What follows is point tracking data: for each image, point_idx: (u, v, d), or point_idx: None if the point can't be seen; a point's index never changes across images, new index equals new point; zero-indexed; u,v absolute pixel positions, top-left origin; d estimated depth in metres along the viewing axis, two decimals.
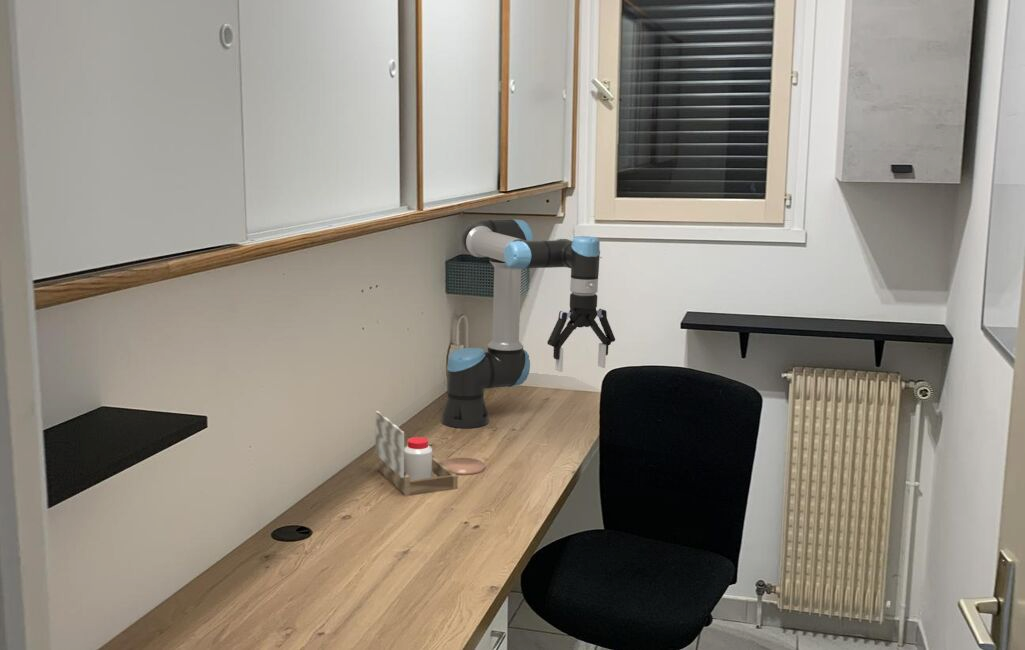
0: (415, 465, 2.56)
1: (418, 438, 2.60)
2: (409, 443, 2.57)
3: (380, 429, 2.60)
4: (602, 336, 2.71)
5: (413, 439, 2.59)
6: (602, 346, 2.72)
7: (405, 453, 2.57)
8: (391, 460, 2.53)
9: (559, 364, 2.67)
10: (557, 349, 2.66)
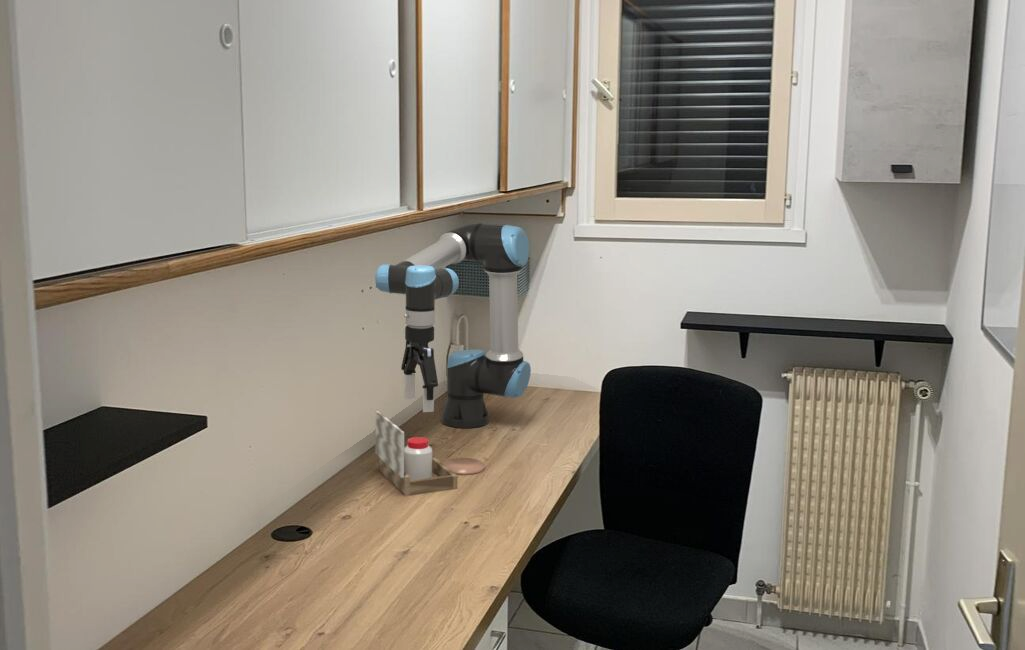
0: (415, 465, 2.56)
1: (418, 438, 2.60)
2: (409, 443, 2.57)
3: (380, 429, 2.60)
4: (423, 377, 2.49)
5: (413, 439, 2.59)
6: None
7: (405, 453, 2.57)
8: (391, 460, 2.53)
9: None
10: (405, 375, 2.62)
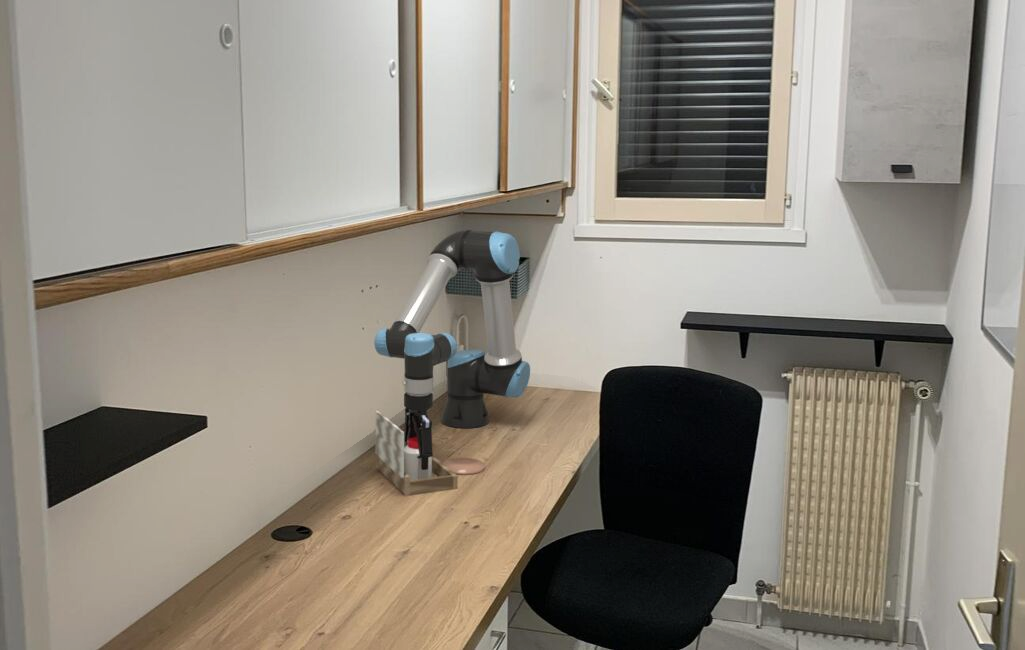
0: (415, 465, 2.56)
1: None
2: (409, 443, 2.57)
3: (380, 429, 2.60)
4: None
5: (413, 439, 2.59)
6: None
7: (405, 453, 2.57)
8: (391, 460, 2.53)
9: None
10: None
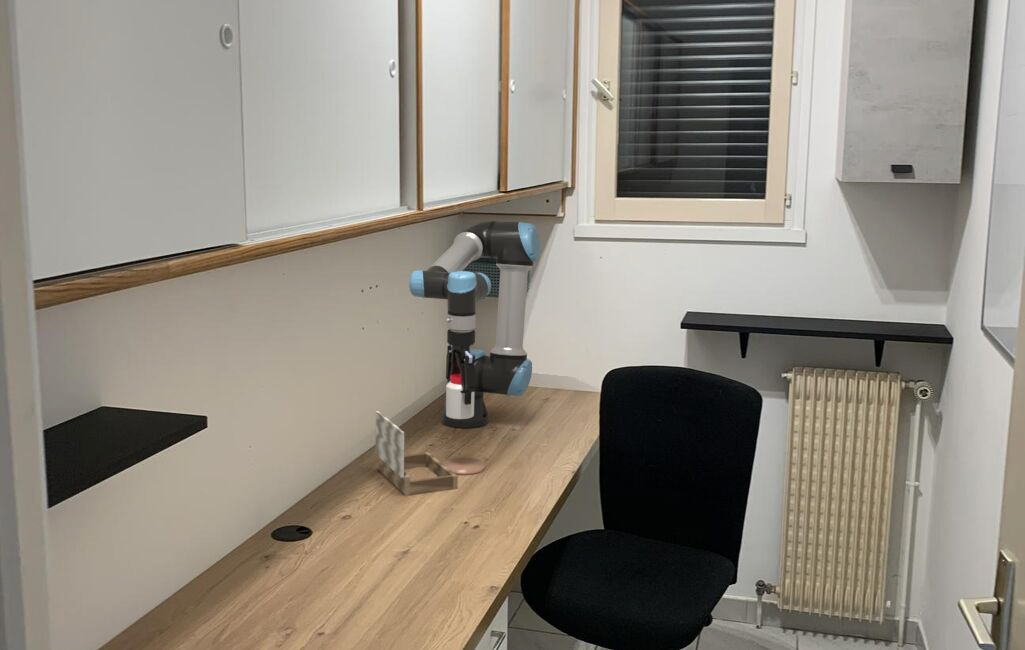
0: (458, 400, 2.62)
1: (460, 374, 2.66)
2: (452, 379, 2.63)
3: (380, 429, 2.60)
4: (462, 381, 2.61)
5: (455, 375, 2.65)
6: None
7: (448, 388, 2.63)
8: (391, 460, 2.53)
9: None
10: None
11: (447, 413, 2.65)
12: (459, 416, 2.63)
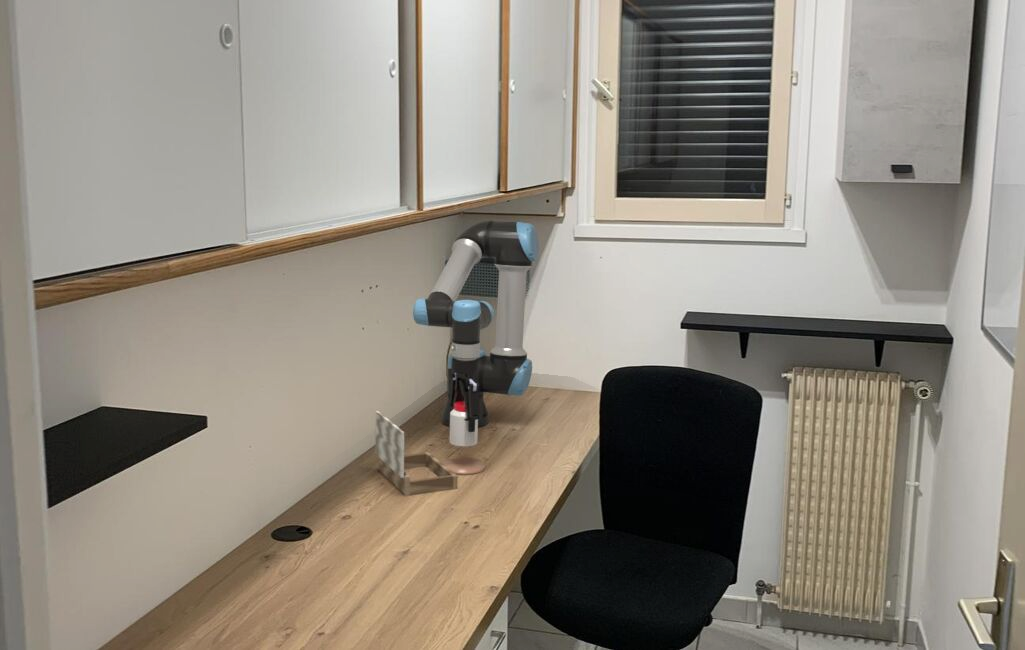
0: (462, 427, 2.64)
1: (464, 402, 2.68)
2: (456, 406, 2.66)
3: (380, 429, 2.60)
4: (466, 409, 2.63)
5: (459, 403, 2.68)
6: None
7: (452, 416, 2.65)
8: (391, 460, 2.53)
9: None
10: None
11: (451, 440, 2.67)
12: (463, 443, 2.65)
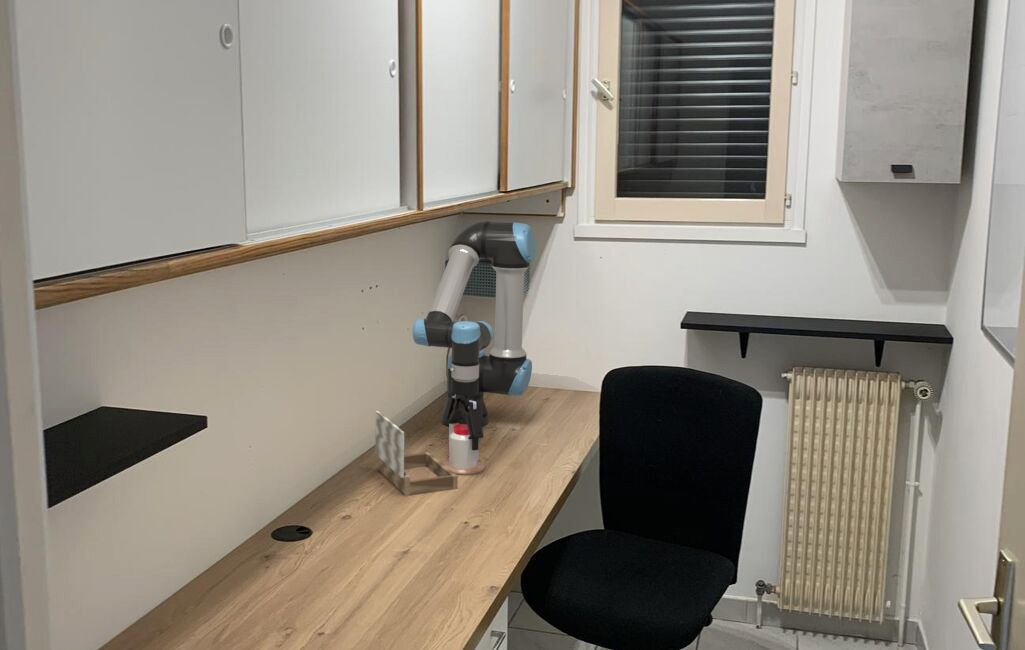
0: (461, 451, 2.66)
1: (463, 425, 2.70)
2: (455, 429, 2.67)
3: (380, 429, 2.60)
4: (468, 428, 2.63)
5: (459, 426, 2.69)
6: None
7: (452, 439, 2.67)
8: (391, 460, 2.53)
9: None
10: (450, 424, 2.75)
11: (450, 463, 2.69)
12: (462, 466, 2.67)
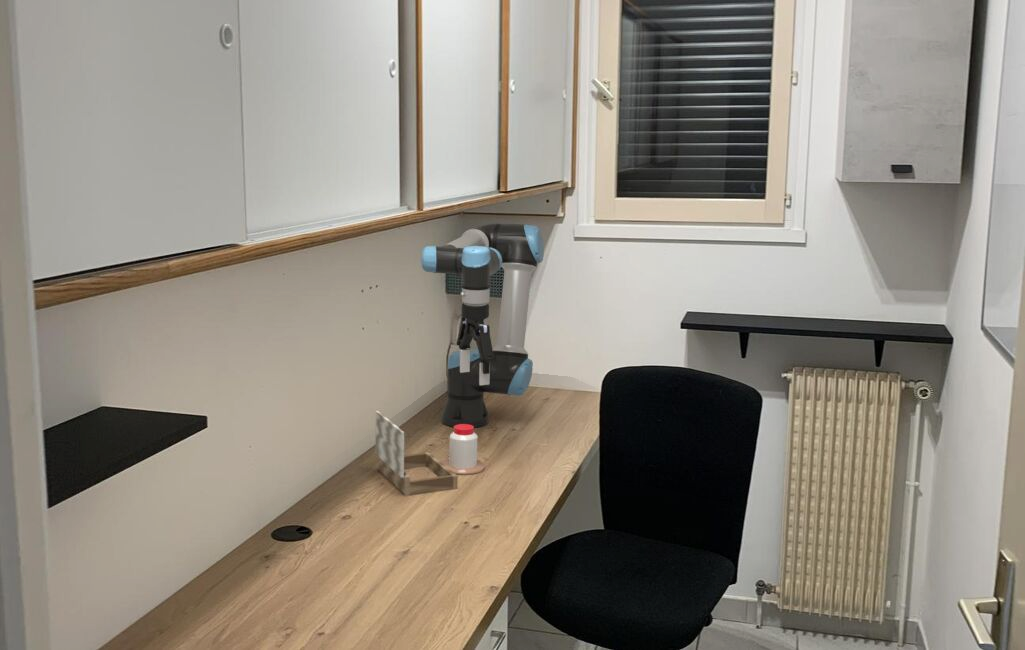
0: (461, 451, 2.66)
1: (463, 425, 2.70)
2: (455, 429, 2.67)
3: (380, 429, 2.60)
4: (479, 352, 2.64)
5: (459, 426, 2.69)
6: None
7: (452, 439, 2.67)
8: (391, 460, 2.53)
9: None
10: (461, 350, 2.76)
11: (450, 463, 2.69)
12: (462, 466, 2.67)
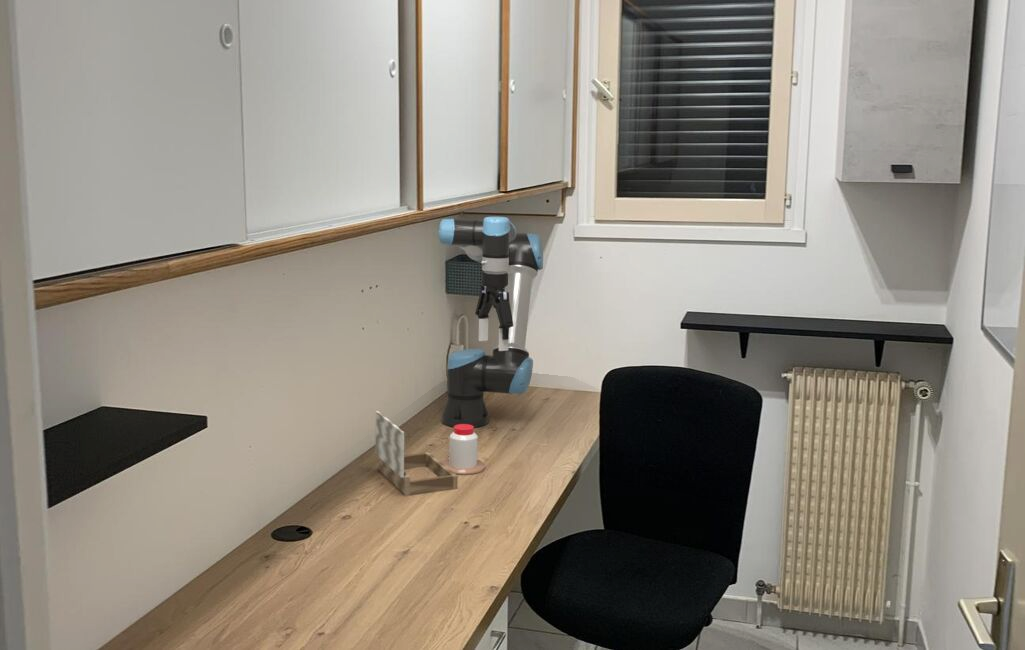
0: (461, 451, 2.66)
1: (463, 425, 2.70)
2: (455, 429, 2.67)
3: (380, 429, 2.60)
4: (499, 318, 2.72)
5: (459, 426, 2.69)
6: None
7: (452, 439, 2.67)
8: (391, 460, 2.53)
9: None
10: (479, 319, 2.85)
11: (450, 463, 2.69)
12: (462, 466, 2.67)
